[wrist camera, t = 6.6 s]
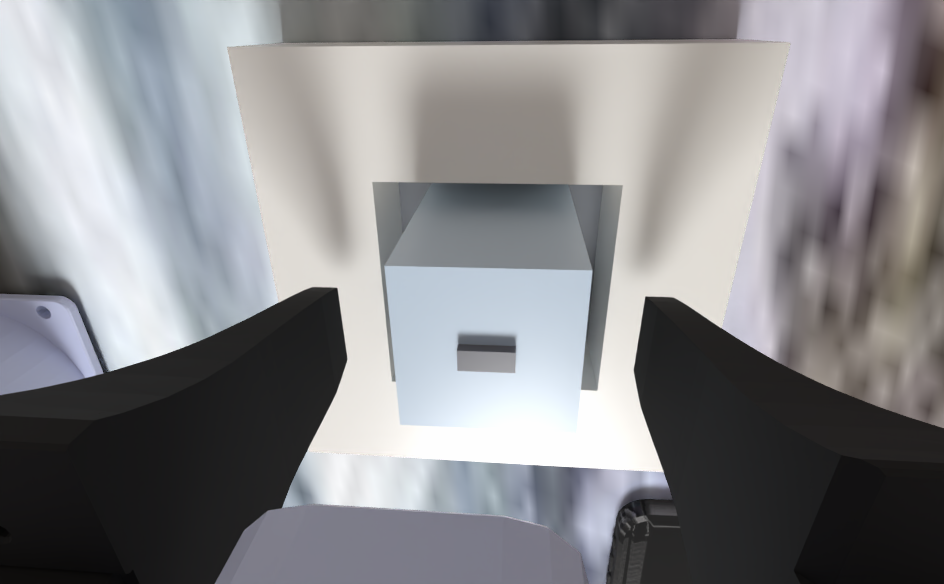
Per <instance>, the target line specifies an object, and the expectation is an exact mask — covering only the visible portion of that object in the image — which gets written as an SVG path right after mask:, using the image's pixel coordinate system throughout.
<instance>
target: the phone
mask: <svg viewBox="0 0 944 584" xmlns="http://www.w3.org/2000/svg"><path fill="white" fill-rule="evenodd" d="M612 546H613V549H612V553H611V554H610V562H609V572H608V574H607V582H606V584H693V583H692V578H691V574H690V569H689V564H688V560H687V555H686V550H685V546H684V542H683V537H682V533H681V529H680V525H679V521H678V516H677V512H676V508H675V504H674V501H673V500H655V499H645V500H637V501H634V502H631V503H629V504H627V505H626V506H624V507H623V508H622V509H621V510H620V511H619V513H618V515H617V518H616V526H615V534H614V535H613V542H612Z"/></svg>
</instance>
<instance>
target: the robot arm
mask: <svg viewBox="0 0 944 584" xmlns="http://www.w3.org/2000/svg"><path fill="white" fill-rule="evenodd" d="M346 363H347V352H346V345H345V338H344V331H343V324H342V316H341V309H340V302H339V295H338V288H332V287H311V288H308V289H306V290H303V291H301V292H299V293H297V294H295V295H293V296H291V297H289V298H287V299H285V300H283V301H281V302H279V303H277V304H275V305H273V306H271V307H269V308H267V309H266V310H264V311H262V312H260V313H258V314H256V315H254V316H252V317H250V318H248V319H246V320H244V321H242V322H240V323H238V324H236V325H234V326H231V327H229V328H227V329H225V330H223V331H221V332H219V333H217V334H215V335H213V336H210V337H208V338H206V339H203V340H201V341H199V342H196V343H194V344H191V345H189V346H186V347H184V348H181V349H178V350H176V351H173V352H170V353H168V354H165V355H162V356H159V357H156V358H153V359H150V360H147V361H143V362H140V363H137V364H134V365H130V366H127V367H124V368H121V369H117V370H114V371H111V372H107V373H103V370H102V368H101V366H100V363H99V361H98V358H97V356H96V353H95V351H94V348H93V346H92V343H91V341H90V338H89V336H88V333H87V331H86V328H85V326H84V323H83V321H82V318H81V316H80V313H79V311H78V309H77V307H76V305H75V304H74V303H73V302H72V301H71V300H70V299H68V298H66V297H63V296H51V295H21V294H0V584H588V579H587V576H586V572H585V568H584V565H583V561H582V557H581V554H580V552H579V551H577V550H576V549H575V548H574V547H572V546H571V545H570V544H569V543H567V542H566V541H565V540H564V539H562V538H561V537H560V536H558V535H557V534H556V533H555V532H553V531H552V530H551V529H550V528H548V527H546V526H543V525H539V524H535V523H531V522H527V521H523V520H519V519H515V518H511V517H507V516H501V515H485V514H469V513H453V512H436V511H420V510H404V509H388V508H371V507H355V506H339V505H323V504H309V505H302V506H295V507H288V508H282V506H283V503H284V501H285V498H286V495H287V493H288V490H289V488H290V485H291V483H292V481H293V478H294V476H295V474H296V472H297V470H298V467H299V465H300V464H301V462H302V460H303V458H304V456H305V454H306V452H307V450H308V448H309V446H310V444H311V442H312V440H313V438H314V436H315V435H316V433H317V431H318V429H319V427H320V425H321V423H322V421H323V419H324V417H325V415H326V413H327V411H328V409H329V407H330V405H331V403H332V401H333V399H334V397H335V395H336V393H337V390H338V387H339V384H340V381H341V379H342V375H343V372H344V369H345V366H346ZM634 376H635V381H636V387H637V392H638V397H639V402H640V406H641V409H642V412H643V415H644V418H645V421H646V424H647V427H648V430H649V433H650V435H651V438H652V441H653V444H654V446H655V449H656V452H657V455H658V458H659V460H660V463H661V466H662V469H663V471H664V474H665V477H666V480H667V483H668V485H669V488H670V491H671V495H672V498H673V501H674V504H675V508H676V512H677V516H678V521H679V525H680V529H681V533H682V537H683V542H684V546H685V550H686V555H687V560H688V564H689V569H690V574H691V578H692V583H693V584H944V428H941V427H938V426H935V425H931V424H928V423H925V422H922V421H919V420H916V419H912V418H909V417H906V416H903V415H900V414H897V413H894V412H892V411H889V410H886V409H883V408H880V407H877V406H875V405H872V404H870V403H867V402H864V401H862V400H859V399H857V398H854V397H852V396H849V395H847V394H844V393H842V392H839V391H837V390H834V389H832V388H830V387H828V386H825V385H823V384H821V383H819V382H816V381H814V380H812V379H810V378H808V377H806V376H804V375H802V374H800V373H798V372H796V371H794V370H792V369H789V368H788V367H786V366H784V365H782V364H780V363H778V362H776V361H774V360H773V359H771V358H769V357H767V356H766V355H764V354H762V353H760V352H759V351H757V350H755V349H754V348H752V347H750V346H748V345H747V344H745V343H744V342H742V341H740V340H739V339H737V338H736V337H734V336H733V335H731V334H729V333H728V332H726V331H725V330H723V329H722V328H720V327H719V326H717V325H716V324H714V323H713V322H711V321H710V320H708V319H707V318H705V317H704V316H702V315H701V314H699V313H698V312H696V311H695V310H693V309H692V308H690V307H689V306H687V305H686V304H684V303H683V302H681V301H679V300H677V299H675V298H673V297H648V296H645V301H644V308H643V314H642V320H641V327H640V333H639V339H638V346H637V352H636V358H635V365H634Z"/></svg>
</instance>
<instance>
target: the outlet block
mask: <svg viewBox="0 0 944 584" xmlns="http://www.w3.org/2000/svg"><path fill="white" fill-rule="evenodd" d="M789 48H790V43H788V42H774V41H759V40H744V39H681V40H565V41H448V42H332V43H275V44H262V45H249V46H236V47H227V49H228V54H229V59H230V64H231V69H232V74H233V79H234V84H235V89H236V94H237V99H238V104H239V108H240V113H241V118H242V123H243V128H244V133H245V138H246V143H247V148H248V153H249V158H250V163H251V168H252V173H253V178H254V183H255V188H256V193H257V197H258V202H259V207H260V212H261V217H262V222H263V227H264V232H265V237H266V242H267V247H268V252H269V257H270V262H271V267H272V272H273V277H274V282H275V287H276V291H277V296H278V301H279V302H281V301H283V300H285V299H287V298H289V297H291V296H293V295H295V294H297V293H299V292H301V291H303V290H306V289H308V288H311V287H332V288H338V295H339V302H340V309H341V316H342V324H343V331H344V338H345V345H346V352H347V363H346V366H345V369H344V372H343V375H342V379H341V381H340V384H339V387H338V390H337V393H336V395H335V397H334V399H333V401H332V403H331V405H330V407H329V409H328V411H327V413H326V415H325V417H324V419H323V421H322V423H321V425H320V427H319V429H318V431H317V433H316V435H315V436H314V438H313V440H312V442H311V444H310V446H309V448H308V450H309V452H319V453H336V454H354V455H371V456H389V457H406V458H424V459H442V460H459V461H477V462H494V463H512V464H529V465H547V466H564V467H582V468H600V469H617V470H635V471H652V472H664V471H663V469H662V466H661V463H660V460H659V458H658V455H657V452H656V449H655V446H654V444H653V441H652V438H651V435H650V433H649V430H648V427H647V424H646V421H645V418H644V415H643V412H642V409H641V406H640V402H639V397H638V392H637V387H636V381H635V376H634V365H635V358H636V352H637V346H638V339H639V333H640V327H641V320H642V314H643V308H644V301H645V296H648V297H673V298H675V299H677V300H679V301H681V302H683V303H684V304H686V305H687V306H689V307H690V308H692V309H693V310H695V311H696V312H698V313H699V314H701V315H702V316H704V317H705V318H707V319H708V320H710V321H711V322H713V323H714V324H716V325H717V326H719V327H720V328H722V325H723V321H724V317H725V312H726V308H727V304H728V300H729V296H730V292H731V288H732V283H733V279H734V275H735V271H736V267H737V263H738V259H739V254H740V250H741V246H742V242H743V238H744V234H745V230H746V225H747V221H748V217H749V213H750V209H751V205H752V201H753V197H754V192H755V188H756V184H757V180H758V176H759V172H760V168H761V163H762V159H763V155H764V151H765V147H766V143H767V139H768V134H769V130H770V126H771V122H772V118H773V114H774V110H775V105H776V101H777V97H778V93H779V89H780V85H781V81H782V77H783V72H784V68H785V64H786V60H787V56H788V52H789ZM432 183H485V184H568V186H569V189H570V193H571V196H572V200H573V203H574V207H575V210H576V214H577V217H578V221H579V224H580V228H581V231H582V235H583V238H584V242H585V246H586V249H587V253H588V256H589V260H590V263H591V267H592V270H593V271H592V281H591V291H590V301H589V312H588V322H587V332H586V342H585V352H584V362H583V372H582V382H581V392H580V402H579V413H578V423H577V433H562V432H541V431H520V430H499V429H478V428H458V427H437V426H416V425H400V418H399V408H398V398H397V388H396V377H395V367H394V357H393V347H392V337H391V327H390V317H389V307H388V297H387V287H386V277H385V267H384V266H385V264H386V262H387V260H388V259H389V257H390V255H391V253H392V252H393V250H394V248H395V246H396V245H397V243H398V241H399V239H400V238H401V236H402V234H403V232H404V231H405V229H406V227H407V225H408V224H409V222H410V220H411V218H412V217H413V215H414V213H415V212H416V210H417V208H418V206H419V205H420V203H421V201H422V199H423V198H424V196H425V194H426V192H427V191H428V189H429V187H430V185H431V184H432Z"/></svg>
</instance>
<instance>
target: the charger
mask: <svg viewBox="0 0 944 584" xmlns="http://www.w3.org/2000/svg"><path fill="white" fill-rule="evenodd" d="M384 267H385V277H386V287H387V297H388V307H389V317H390V327H391V337H392V347H393V357H394V367H395V377H396V388H397V398H398V408H399V418H400V425H416V426H437V427H458V428H478V429H499V430H520V431H541V432H562V433H577V423H578V413H579V402H580V392H581V382H582V372H583V362H584V352H585V342H586V332H587V322H588V312H589V301H590V291H591V281H592V271H593V270H592V267H591V263H590V260H589V256H588V253H587V249H586V246H585V242H584V238H583V235H582V231H581V228H580V224H579V221H578V217H577V214H576V210H575V207H574V203H573V200H572V196H571V193H570V189H569V186H568V184H485V183H432V184H431V185H430V187H429V189H428V191H427V192H426V194H425V196H424V198H423V199H422V201H421V203H420V205H419V206H418V208H417V210H416V212H415V213H414V215H413V217H412V218H411V220H410V222H409V224H408V225H407V227H406V229H405V231H404V232H403V234H402V236H401V238H400V239H399V241H398V243H397V245H396V246H395V248H394V250H393V252H392V253H391V255H390V257H389V259H388V260H387V262H386V264H385V266H384Z"/></svg>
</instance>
